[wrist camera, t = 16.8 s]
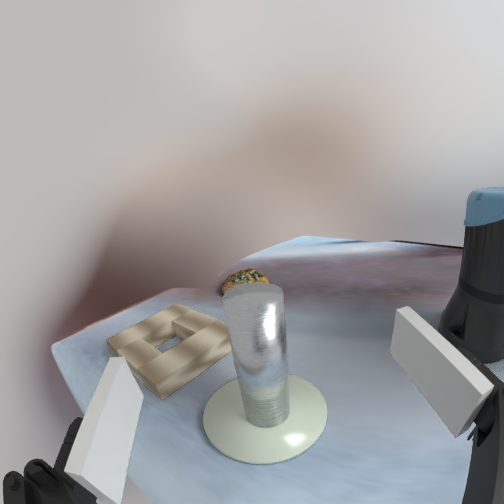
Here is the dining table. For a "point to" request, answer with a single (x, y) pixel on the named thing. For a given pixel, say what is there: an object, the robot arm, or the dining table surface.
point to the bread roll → (243, 279)
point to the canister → (259, 351)
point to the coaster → (265, 439)
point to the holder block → (178, 357)
